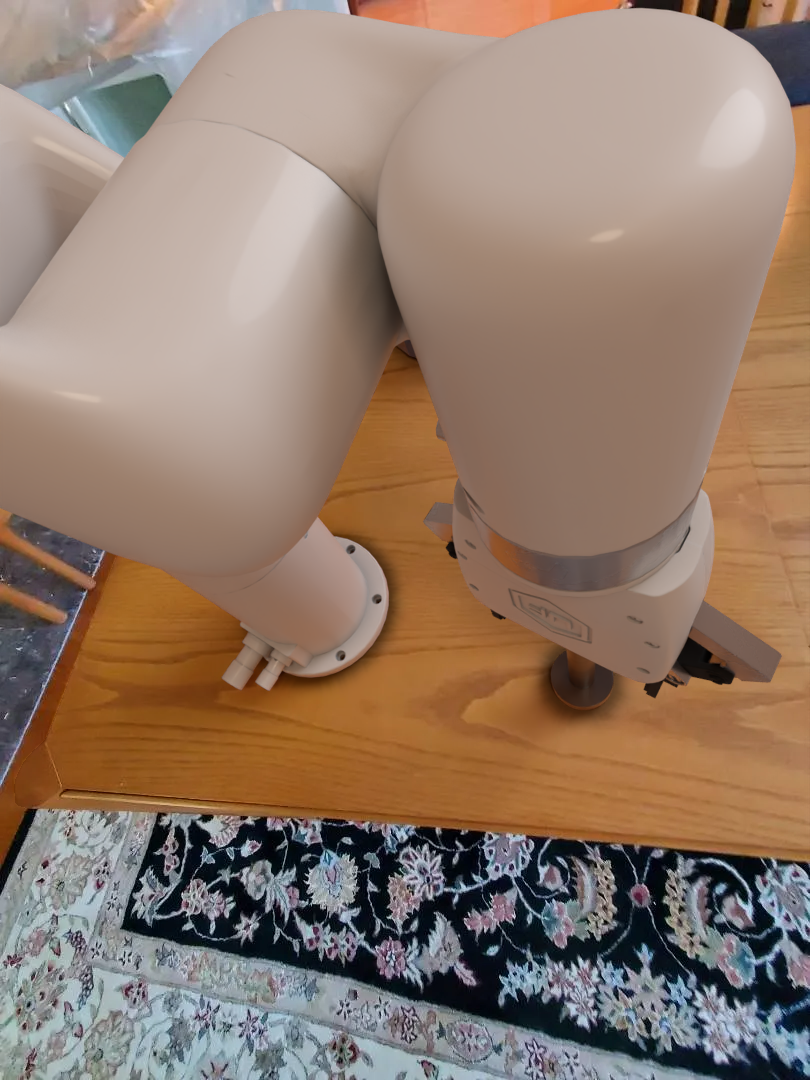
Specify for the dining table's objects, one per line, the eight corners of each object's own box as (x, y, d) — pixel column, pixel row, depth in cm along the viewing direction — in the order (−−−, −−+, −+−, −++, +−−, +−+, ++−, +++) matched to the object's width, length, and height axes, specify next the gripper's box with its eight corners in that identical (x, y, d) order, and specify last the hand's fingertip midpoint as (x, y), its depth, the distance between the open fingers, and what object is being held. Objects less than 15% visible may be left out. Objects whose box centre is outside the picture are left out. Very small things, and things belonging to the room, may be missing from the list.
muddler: (596, 721, 45) (601, 664, 31) (541, 691, 47) (521, 623, 33) (623, 668, 46) (640, 589, 32) (568, 641, 48) (560, 554, 34)
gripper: (321, 476, 24) (424, 620, 39) (820, 707, 16) (709, 775, 31) (422, 333, 26) (484, 523, 41) (912, 480, 18) (766, 647, 33)
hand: (582, 632), depth 36 cm, fingers open, 8 cm apart
